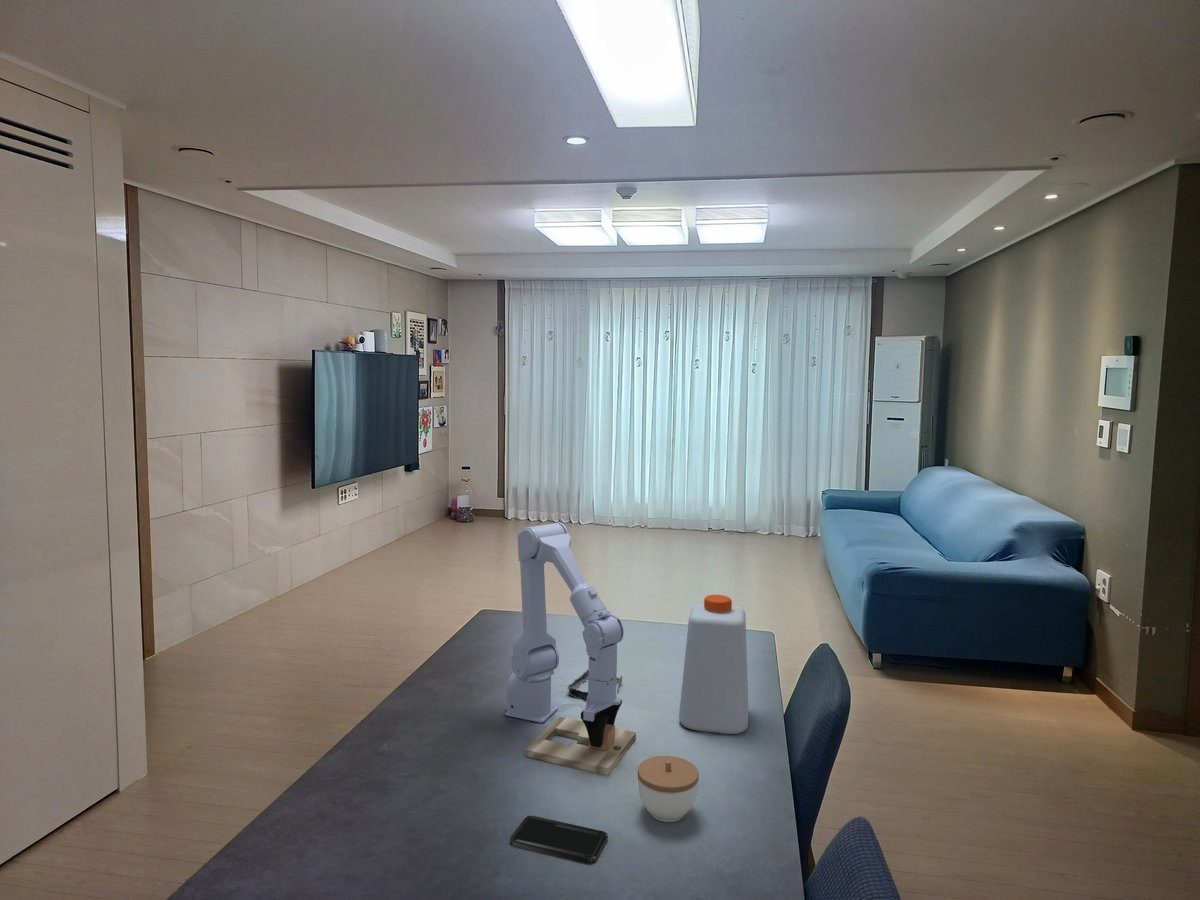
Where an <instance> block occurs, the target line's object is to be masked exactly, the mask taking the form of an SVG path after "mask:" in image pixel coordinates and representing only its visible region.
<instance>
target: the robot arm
mask: <svg viewBox="0 0 1200 900" xmlns="http://www.w3.org/2000/svg"><path fill="white" fill-rule="evenodd" d="M571 546H572V536H571V535H570V533H569V530H568V529H567V527H566V525H565V524H564V523H562V522H561V521H557V522H554V523H548V524H541V525H536V526H524V527H523V528H522V530H520V532H519V533H518V534H517V554H518V555H517V556H518V562H519V567H520V568H519V569H520V592H521V611H522V612H521V614H522V615H521V616H522V618H521V619H522V634H521V635H520V636H519V637H518V638H517V639H516V640H515V641H514V643H513V645H512V655H511V658H510V659H511V660H510V666H511V669H512V673H511V674H510V676H509V679H508V681H507V686H506V687H507V688H506V689H507V690H506V691H507V695H506V696H507V697H506V699H507V700H506V703H507V705H506V706H507V707H506V708H507V709H506V712H505V716H508V717H511V718H512V717H513V718H516V719H519V720H520V719H521V720H525V721H531V722H534V723H535V722H536V723H541V724H543V723H545V722H546V721H547V720H548V719H549V718H550V717H551V716H552V715H554V713H555V712H556V711H557V710H558V709H559V707H558V706H555V705H551V704H552V703H551V702H552V701H551V700H552V675H555V670H556V669H557V668H558V666H559V663H560V653H559V650H558V649H557V648H558V647H557V641H556V640H557V639H556V638H555V637H554V636H552V635H551V634H549V633H548V632H547V626H548V625H547V624H548V623H547V607H546V605H547V603H546V584H545V579H546V578H545V564H546V563H547V562H548V563H552V564H553V565H554V567H555V568H556V570H557V571H558V573H559V575H560V576H561V578H562V580H563V582H564V583H565V585H566V586H567V587H568V589H569V590H570V592H571V593H570V597H569V602H570V603H571V605H572V607H573V609H574V611H575V613H576V614H577V616H578V618H579V620H580V622H581V624H582V626H583V627H584V630H583V631H582V639H583V641H584V644H585V648H586V650H585V651H586V653H587V654H586V655H587V656H588V669H587V670H588V680H587V682H588V684H587V692H588V695H587V700H586V701H585V702H586V703H585V708H584V709H583V710H582V711H581V712H580V719H581V721H583V722H584V724H585V726H586V729H587V732H588V736H589V741H590V744H591V746H593V747H597V748H600V747H601V746H602V742H603V736H604V730H605V726H606V724H610V725H615V722H616V717H617V715H618V712H619V709H620V708H621V706H622V705H623V700H622V698H621V697H618V695H619V693H620V686H619V684H616V677H618V676H617V674H618V673H617V670H618V668H617V667H618V659H617V658H618V643H620V642H621V641H622V640H623V638H624V633H625V632H624V627H623V624H622V620H621V619H620V617H619V616H617V615H615V614H613V613H612V611H611V610H607V607H606V605H605V604H604V602H603V600H602V599H601V596H600V595H599V594H598V591H597V590H596V588H595V586H593V585H591V584H588V583H587V582H586V580H585V579H584V576H583V573H582V571H581V570H580V568H579V565H578V562H577V561H576V559H575V556H574V554H573V551H572V550H571Z"/></svg>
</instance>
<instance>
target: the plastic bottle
mask: <svg viewBox="0 0 1200 900" xmlns="http://www.w3.org/2000/svg"><path fill="white" fill-rule="evenodd" d="M732 604H733V600H732V599H731V598H730V597H729V596H727V595H722V594H709V595H706V596H705V597H704V601H703V603H695V604H694V605H693V606H692V607H691V610H690V612H689V616H688V624H687V632H686V643H685V651H684V653H685V654H684V661H683V662H684V663H683V664H684V665H683V673H682V683H681V693H680V703H679V713H678V714H679V715H678V720H679V722H680V723H681V725H682V726H683V727H684V728H687V729H689V730H691V731H695V732H696V731H697V732H698V731H699V732H706V733H716V734H725V735H739V734H741V733H743V732H744V731H746V730H747V728H748V725H749V712H750V711H749V709H750V708H749V688H748V687H749V684H748V683H749V681H748V680H749V679H748V652H747V624H746V623H747V622H746V621H747V620H746V612H745V610H744V609H743V607H740V606H737V605H732Z"/></svg>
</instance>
